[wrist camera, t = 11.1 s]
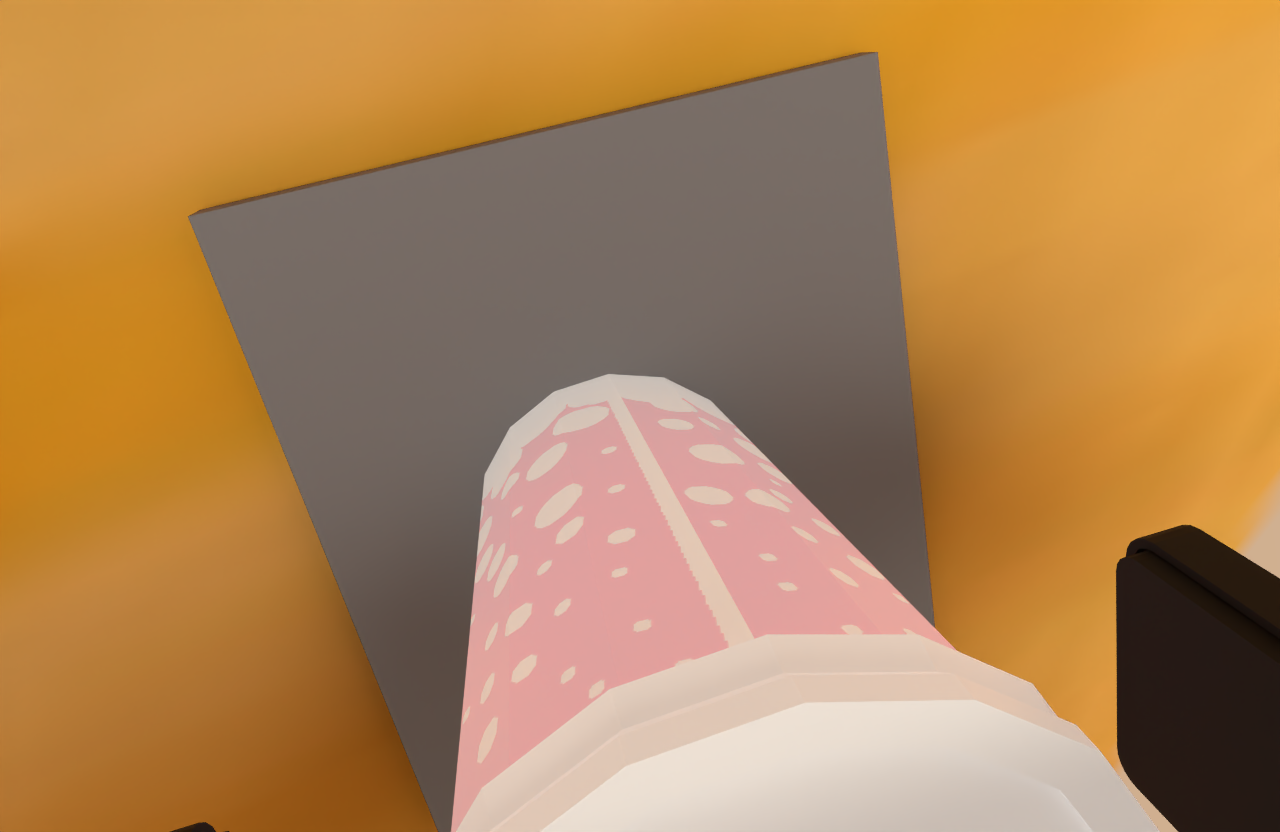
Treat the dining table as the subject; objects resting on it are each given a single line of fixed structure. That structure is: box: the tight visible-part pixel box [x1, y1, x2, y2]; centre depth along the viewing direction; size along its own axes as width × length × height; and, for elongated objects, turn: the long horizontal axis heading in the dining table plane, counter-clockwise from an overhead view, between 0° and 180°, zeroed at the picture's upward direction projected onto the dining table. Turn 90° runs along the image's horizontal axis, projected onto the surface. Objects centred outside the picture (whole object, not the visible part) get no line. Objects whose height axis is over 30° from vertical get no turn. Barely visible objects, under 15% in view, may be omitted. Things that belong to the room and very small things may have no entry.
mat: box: [188, 52, 935, 832], centre depth 15 cm, size 12×10×1 cm
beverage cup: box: [451, 374, 1160, 832], centre depth 9 cm, size 6×6×14 cm
